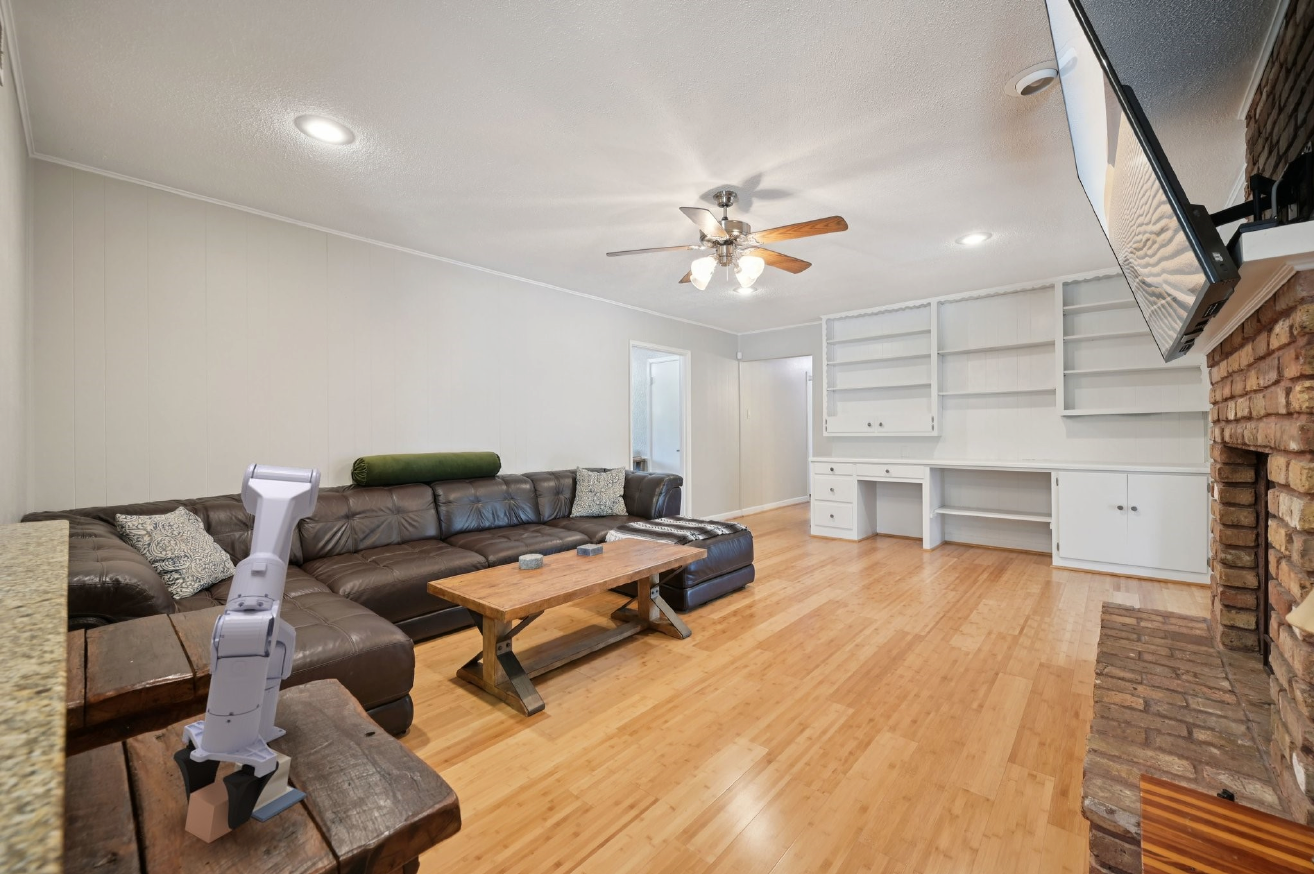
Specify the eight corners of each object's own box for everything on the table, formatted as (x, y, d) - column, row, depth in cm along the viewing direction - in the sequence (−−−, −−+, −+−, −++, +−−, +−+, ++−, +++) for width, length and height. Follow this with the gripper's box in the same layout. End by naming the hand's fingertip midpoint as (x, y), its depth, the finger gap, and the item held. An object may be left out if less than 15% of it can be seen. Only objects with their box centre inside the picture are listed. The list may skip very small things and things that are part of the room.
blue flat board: (211, 796, 74) (211, 792, 74) (256, 773, 80) (257, 770, 80) (262, 822, 71) (263, 818, 71) (306, 796, 76) (306, 793, 76)
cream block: (230, 796, 74) (235, 763, 74) (263, 779, 78) (268, 747, 78) (252, 808, 72) (258, 774, 72) (286, 790, 76) (291, 757, 77)
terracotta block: (184, 830, 68) (190, 793, 68) (223, 809, 72) (229, 775, 72) (208, 844, 66) (214, 806, 66) (247, 822, 71) (252, 786, 71)
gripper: (161, 701, 68) (144, 811, 68) (241, 736, 63) (223, 855, 63) (222, 681, 75) (207, 781, 75) (299, 711, 70) (282, 819, 70)
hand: (218, 813), depth 69 cm, fingers open, 7 cm apart
